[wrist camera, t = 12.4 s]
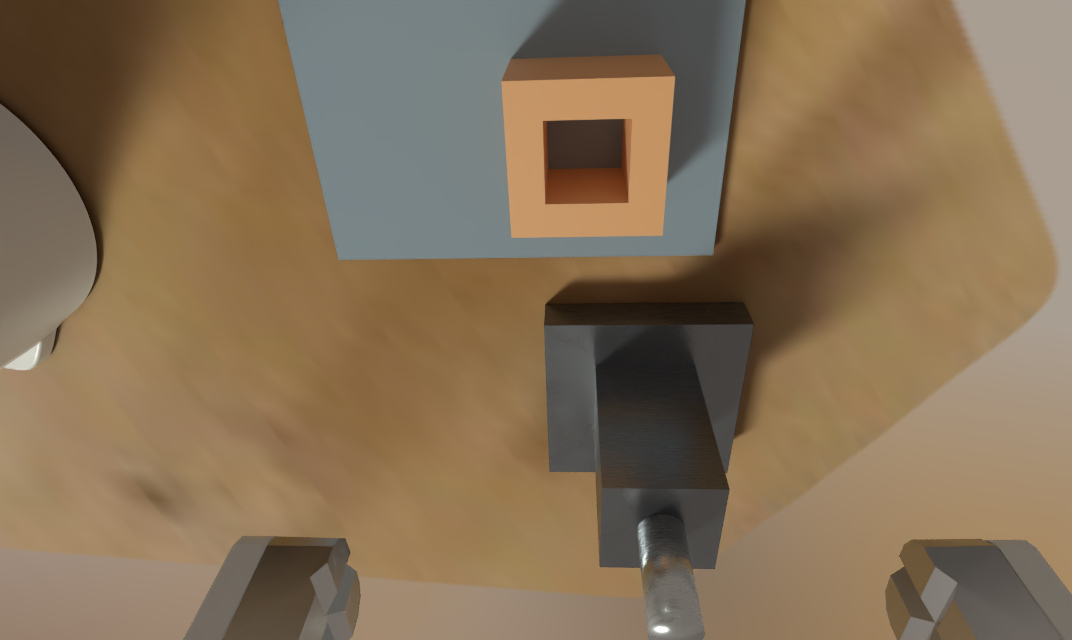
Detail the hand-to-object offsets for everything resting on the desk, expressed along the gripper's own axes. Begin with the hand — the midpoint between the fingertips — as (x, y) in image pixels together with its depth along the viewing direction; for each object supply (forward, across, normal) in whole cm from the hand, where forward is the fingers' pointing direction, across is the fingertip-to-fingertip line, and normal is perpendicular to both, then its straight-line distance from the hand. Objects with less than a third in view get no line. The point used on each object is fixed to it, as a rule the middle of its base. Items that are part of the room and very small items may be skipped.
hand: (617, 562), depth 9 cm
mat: (+22, +3, 0) cm, 22 cm away
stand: (+21, -3, +14) cm, 26 cm away
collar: (+21, 0, 0) cm, 21 cm away
